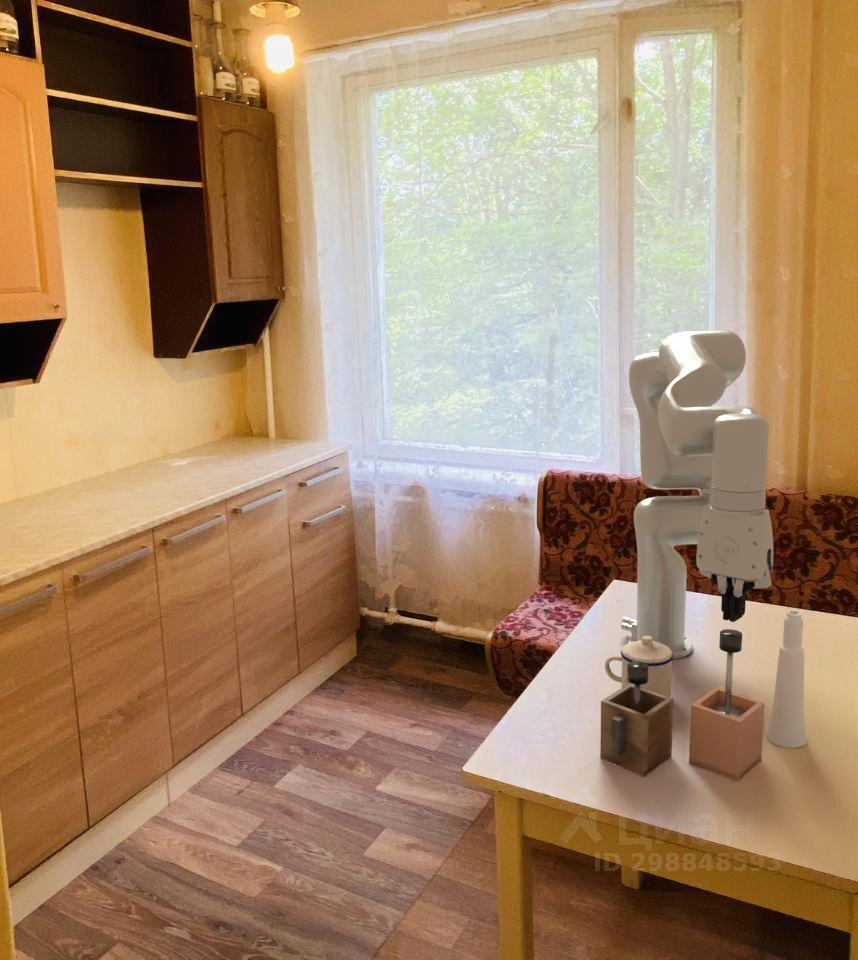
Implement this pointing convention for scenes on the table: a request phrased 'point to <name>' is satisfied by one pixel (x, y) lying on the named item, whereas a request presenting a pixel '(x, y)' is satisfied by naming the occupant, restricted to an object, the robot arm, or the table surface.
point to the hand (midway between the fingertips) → (732, 618)
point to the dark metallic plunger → (637, 679)
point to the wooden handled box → (636, 730)
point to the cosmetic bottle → (789, 687)
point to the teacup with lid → (650, 654)
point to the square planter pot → (726, 735)
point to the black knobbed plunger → (729, 669)
